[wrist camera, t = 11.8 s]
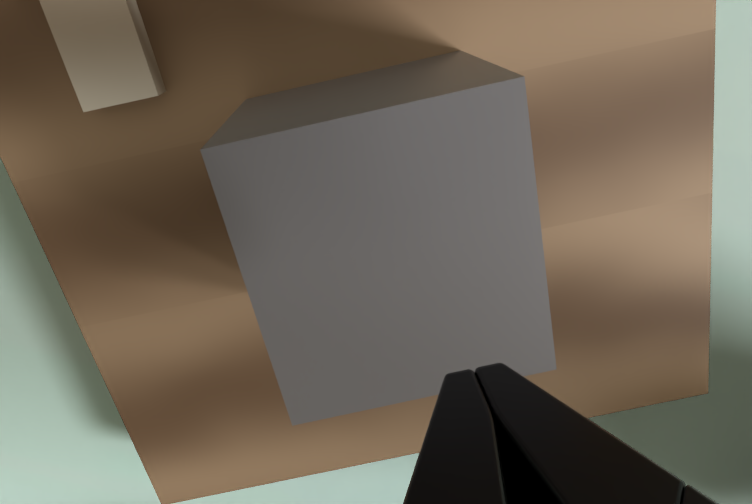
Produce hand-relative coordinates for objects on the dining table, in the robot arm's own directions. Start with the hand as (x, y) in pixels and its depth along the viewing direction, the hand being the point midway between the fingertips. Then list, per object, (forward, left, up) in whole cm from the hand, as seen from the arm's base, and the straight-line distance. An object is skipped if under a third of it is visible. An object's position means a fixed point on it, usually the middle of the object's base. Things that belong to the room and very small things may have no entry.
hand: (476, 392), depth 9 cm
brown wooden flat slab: (0, +1, -13) cm, 13 cm away
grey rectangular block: (0, +1, -12) cm, 12 cm away
